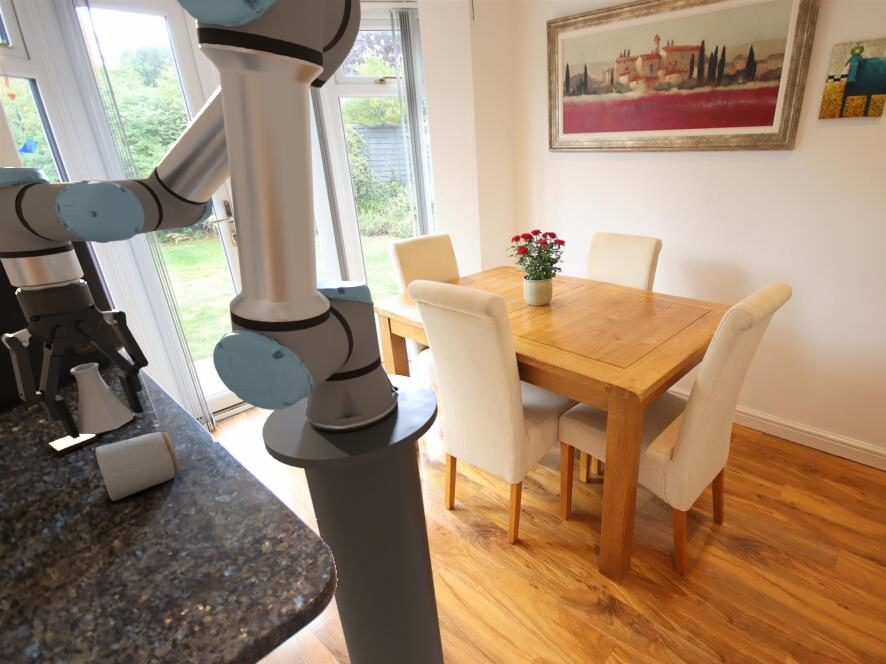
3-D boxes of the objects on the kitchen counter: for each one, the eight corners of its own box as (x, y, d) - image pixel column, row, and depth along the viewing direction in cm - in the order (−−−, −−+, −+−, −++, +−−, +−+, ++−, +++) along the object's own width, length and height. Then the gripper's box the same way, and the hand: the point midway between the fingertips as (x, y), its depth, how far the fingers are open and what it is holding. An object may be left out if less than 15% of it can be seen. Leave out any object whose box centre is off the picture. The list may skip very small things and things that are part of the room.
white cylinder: (187, 482, 66) (171, 436, 64) (115, 511, 61) (94, 462, 58) (172, 453, 73) (156, 411, 71) (106, 478, 68) (87, 433, 65)
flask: (121, 432, 71) (98, 373, 67) (66, 439, 70) (39, 380, 66) (144, 409, 78) (123, 355, 74) (94, 416, 76) (71, 360, 72)
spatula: (131, 415, 85) (129, 409, 85) (142, 421, 83) (140, 415, 83) (50, 447, 76) (47, 441, 76) (60, 455, 74) (57, 448, 74)
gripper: (124, 266, 75) (166, 390, 83) (-66, 298, 59) (10, 448, 67) (145, 270, 71) (187, 400, 80) (-50, 306, 55) (28, 464, 64)
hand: (106, 422), depth 74 cm, fingers closed on flask, 8 cm apart
